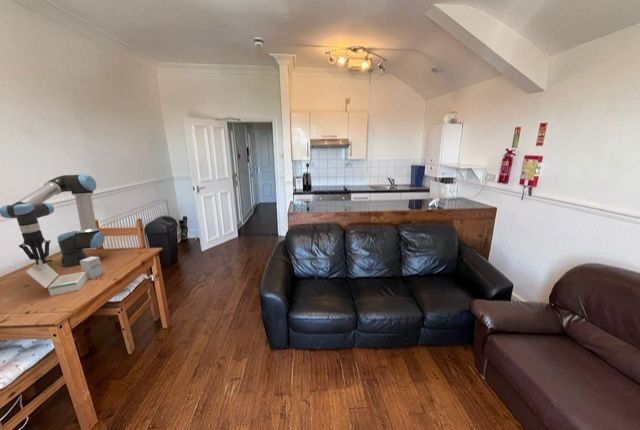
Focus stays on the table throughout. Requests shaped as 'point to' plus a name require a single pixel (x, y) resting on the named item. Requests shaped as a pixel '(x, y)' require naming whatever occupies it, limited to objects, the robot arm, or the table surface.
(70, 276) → the box
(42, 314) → the table surface
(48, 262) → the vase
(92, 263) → the supplement box
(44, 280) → the lid
